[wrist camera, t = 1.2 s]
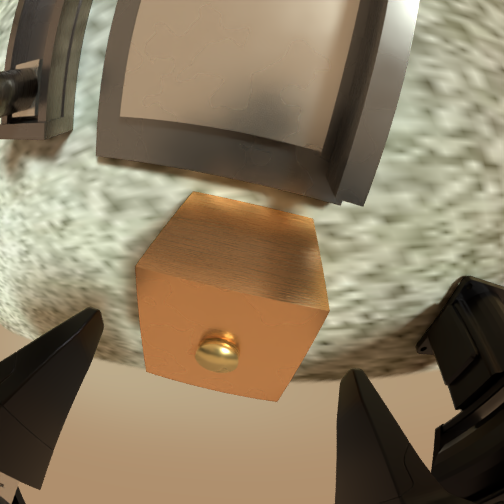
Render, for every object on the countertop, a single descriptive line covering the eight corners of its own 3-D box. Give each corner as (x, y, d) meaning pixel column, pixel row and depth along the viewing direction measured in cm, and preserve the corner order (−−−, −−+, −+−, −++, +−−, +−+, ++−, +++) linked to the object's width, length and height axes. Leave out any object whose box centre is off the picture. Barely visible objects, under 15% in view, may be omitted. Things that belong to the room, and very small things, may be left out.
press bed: (396, -35, 5) (424, -61, 3) (337, 198, 12) (352, 232, 9) (152, -67, 5) (121, -92, 2) (105, 151, 12) (63, 172, 9)
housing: (312, 218, 13) (331, 321, 7) (281, 306, 16) (276, 410, 10) (193, 190, 12) (129, 274, 7) (184, 284, 15) (143, 379, 10)
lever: (54, 58, 8) (-27, 67, 4) (49, 112, 10) (-30, 138, 5) (28, 63, 8) (-47, 78, 4) (24, 113, 10) (-49, 140, 5)
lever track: (113, -59, 5) (91, -72, 3) (72, 129, 11) (44, 140, 9) (56, -39, 5) (32, -45, 3) (24, 129, 11) (-2, 139, 9)
